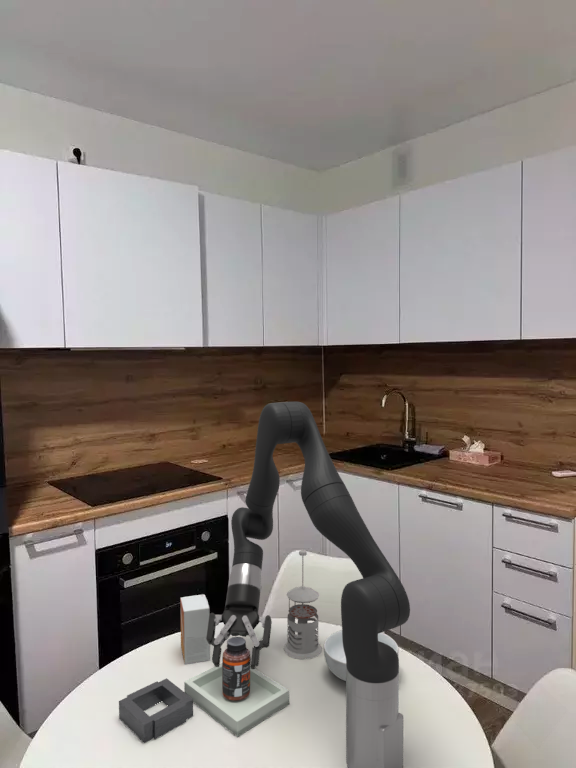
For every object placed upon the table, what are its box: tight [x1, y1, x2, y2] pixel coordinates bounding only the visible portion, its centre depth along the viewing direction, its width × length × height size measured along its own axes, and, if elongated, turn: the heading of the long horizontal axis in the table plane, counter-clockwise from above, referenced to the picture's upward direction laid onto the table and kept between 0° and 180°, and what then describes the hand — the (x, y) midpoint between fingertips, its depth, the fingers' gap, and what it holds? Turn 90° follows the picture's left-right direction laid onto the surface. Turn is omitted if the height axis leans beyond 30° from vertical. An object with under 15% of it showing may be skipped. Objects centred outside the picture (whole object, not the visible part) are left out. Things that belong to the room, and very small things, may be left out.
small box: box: [179, 594, 211, 665], centre depth 130 cm, size 8×6×13 cm
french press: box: [282, 549, 323, 660], centre depth 133 cm, size 10×12×25 cm
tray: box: [183, 662, 290, 738], centre depth 112 cm, size 18×14×3 cm
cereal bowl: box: [323, 629, 399, 682], centre depth 121 cm, size 17×17×7 cm
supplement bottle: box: [221, 636, 251, 701], centre depth 113 cm, size 6×6×11 cm
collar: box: [118, 678, 194, 744], centre depth 107 cm, size 11×11×4 cm
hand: (234, 667), depth 111 cm, fingers open, 7 cm apart
